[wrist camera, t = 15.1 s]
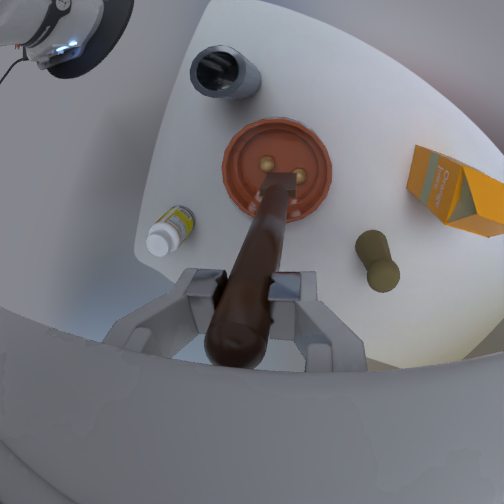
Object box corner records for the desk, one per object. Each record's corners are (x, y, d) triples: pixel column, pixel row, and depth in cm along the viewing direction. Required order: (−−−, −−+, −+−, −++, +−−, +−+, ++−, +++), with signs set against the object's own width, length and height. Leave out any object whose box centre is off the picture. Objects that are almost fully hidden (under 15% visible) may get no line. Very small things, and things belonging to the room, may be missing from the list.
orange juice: (446, 200, 37) (509, 260, 20) (405, 188, 38) (463, 248, 21) (456, 158, 33) (531, 200, 16) (415, 143, 34) (487, 177, 17)
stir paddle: (268, 184, 26) (186, 378, 7) (267, 166, 25) (172, 338, 7) (296, 185, 26) (279, 391, 7) (296, 167, 25) (282, 352, 6)
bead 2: (287, 183, 40) (295, 178, 38) (289, 169, 40) (297, 164, 38) (300, 188, 41) (309, 184, 38) (302, 175, 41) (311, 170, 39)
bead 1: (253, 159, 39) (258, 174, 39) (267, 154, 37) (272, 169, 38) (260, 159, 41) (265, 173, 41) (274, 154, 39) (278, 169, 40)
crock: (221, 101, 37) (192, 101, 27) (217, 64, 34) (187, 51, 23) (262, 97, 36) (248, 93, 25) (259, 59, 32) (243, 41, 22)
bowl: (236, 210, 46) (228, 223, 41) (226, 120, 38) (216, 122, 34) (327, 210, 43) (330, 224, 38) (327, 116, 35) (331, 118, 31)
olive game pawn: (372, 265, 47) (385, 304, 37) (348, 249, 46) (358, 287, 36) (393, 241, 43) (412, 277, 34) (369, 223, 43) (386, 257, 33)
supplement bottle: (169, 230, 50) (143, 258, 41) (167, 203, 47) (139, 227, 39) (196, 234, 49) (174, 264, 41) (195, 206, 47) (171, 231, 38)
